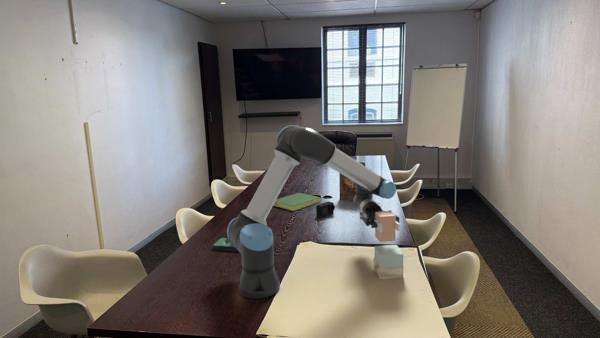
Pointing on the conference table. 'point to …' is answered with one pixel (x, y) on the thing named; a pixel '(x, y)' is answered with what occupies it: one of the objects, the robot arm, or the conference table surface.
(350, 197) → the book
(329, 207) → the digital camera
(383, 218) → the tall block
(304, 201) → the hardcover book
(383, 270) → the tower base block
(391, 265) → the tower upper block
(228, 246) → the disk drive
